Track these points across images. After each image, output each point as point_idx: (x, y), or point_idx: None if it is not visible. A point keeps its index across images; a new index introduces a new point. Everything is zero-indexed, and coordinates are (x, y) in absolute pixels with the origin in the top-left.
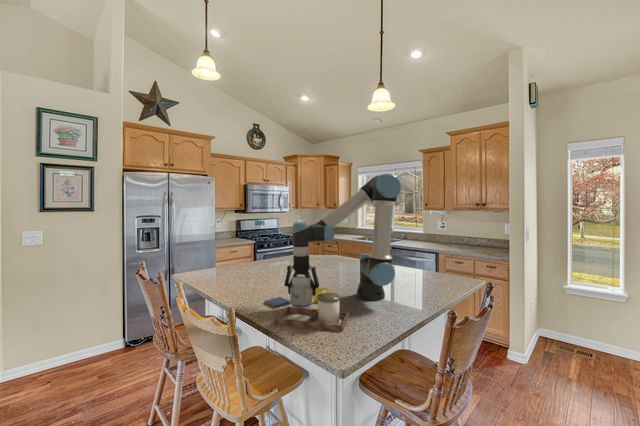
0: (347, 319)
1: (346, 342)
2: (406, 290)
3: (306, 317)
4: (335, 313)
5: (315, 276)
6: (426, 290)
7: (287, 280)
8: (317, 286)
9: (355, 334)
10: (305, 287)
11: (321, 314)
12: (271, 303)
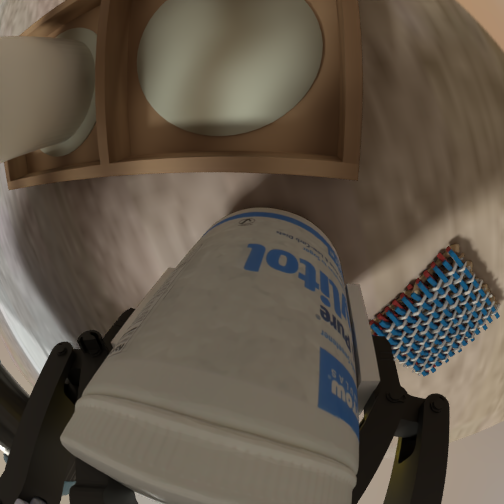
0: None
1: (21, 10)
2: None
3: (168, 89)
4: None
5: (18, 433)
6: None
7: (421, 461)
8: (56, 351)
9: None
10: (122, 339)
11: (32, 36)
12: (475, 284)
